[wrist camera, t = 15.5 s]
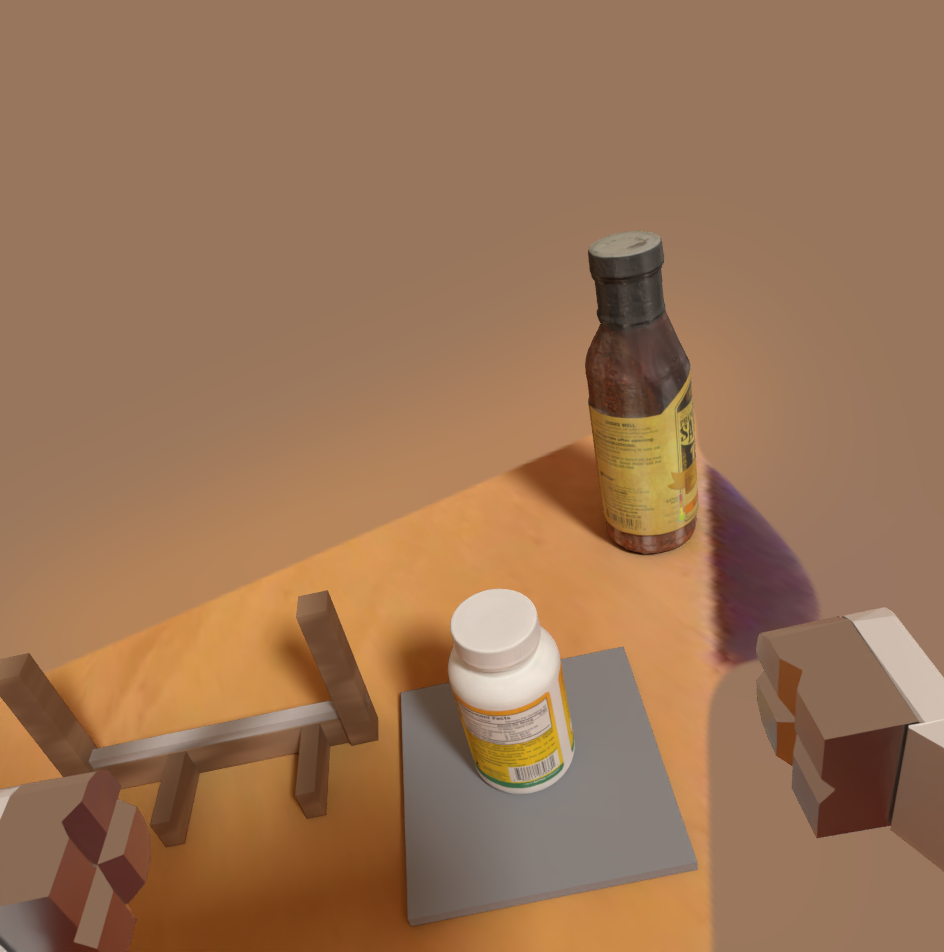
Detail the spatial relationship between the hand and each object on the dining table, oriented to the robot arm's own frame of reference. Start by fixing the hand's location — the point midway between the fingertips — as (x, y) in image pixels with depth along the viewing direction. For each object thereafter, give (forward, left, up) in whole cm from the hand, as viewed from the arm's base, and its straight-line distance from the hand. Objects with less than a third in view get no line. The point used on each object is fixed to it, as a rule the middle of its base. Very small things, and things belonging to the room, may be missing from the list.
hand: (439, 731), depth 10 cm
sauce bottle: (+11, +36, -28) cm, 47 cm away
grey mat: (0, +19, -28) cm, 34 cm away
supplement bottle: (0, +20, -28) cm, 34 cm away
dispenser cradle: (-17, +22, -28) cm, 39 cm away
